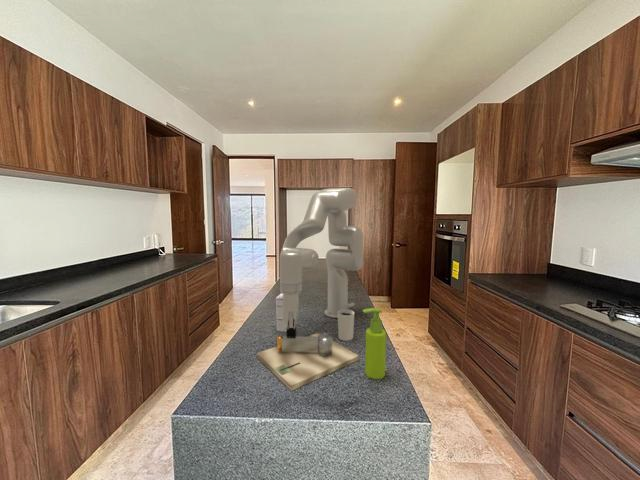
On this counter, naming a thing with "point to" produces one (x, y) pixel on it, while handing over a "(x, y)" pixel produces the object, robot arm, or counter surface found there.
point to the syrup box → (280, 314)
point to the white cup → (345, 324)
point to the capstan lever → (306, 344)
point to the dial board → (305, 363)
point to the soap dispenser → (375, 346)
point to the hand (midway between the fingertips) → (291, 338)
